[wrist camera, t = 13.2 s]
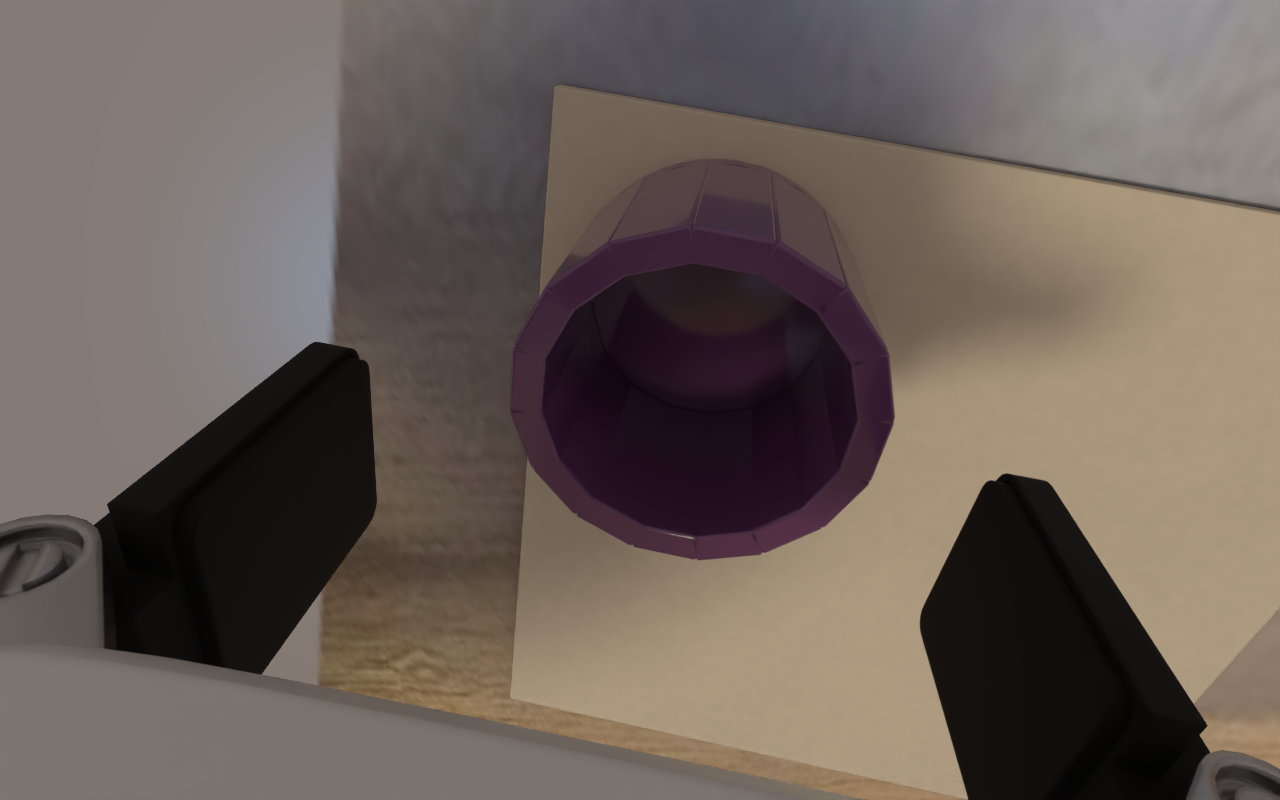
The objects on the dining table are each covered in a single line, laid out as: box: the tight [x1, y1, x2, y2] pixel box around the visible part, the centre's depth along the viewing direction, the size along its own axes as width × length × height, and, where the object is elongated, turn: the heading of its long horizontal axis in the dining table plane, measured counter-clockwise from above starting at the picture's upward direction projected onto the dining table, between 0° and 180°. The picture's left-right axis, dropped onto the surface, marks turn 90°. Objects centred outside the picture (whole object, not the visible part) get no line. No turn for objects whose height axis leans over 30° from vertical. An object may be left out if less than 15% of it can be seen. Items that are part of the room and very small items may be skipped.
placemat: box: [510, 84, 1280, 800], centre depth 19 cm, size 20×20×1 cm
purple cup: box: [510, 159, 895, 560], centre depth 14 cm, size 6×6×5 cm
